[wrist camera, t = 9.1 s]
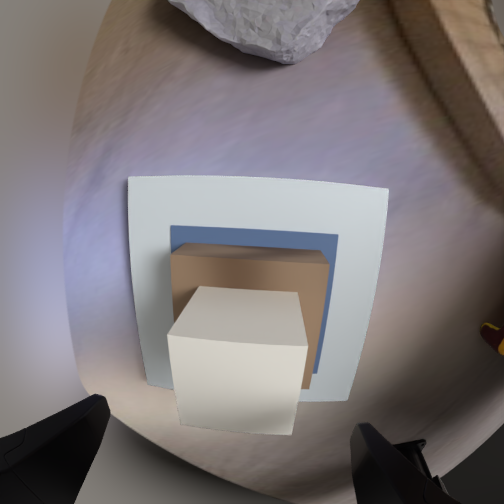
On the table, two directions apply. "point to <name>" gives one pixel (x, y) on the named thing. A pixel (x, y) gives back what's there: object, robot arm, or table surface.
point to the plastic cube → (239, 360)
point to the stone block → (269, 24)
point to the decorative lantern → (493, 337)
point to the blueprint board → (263, 213)
